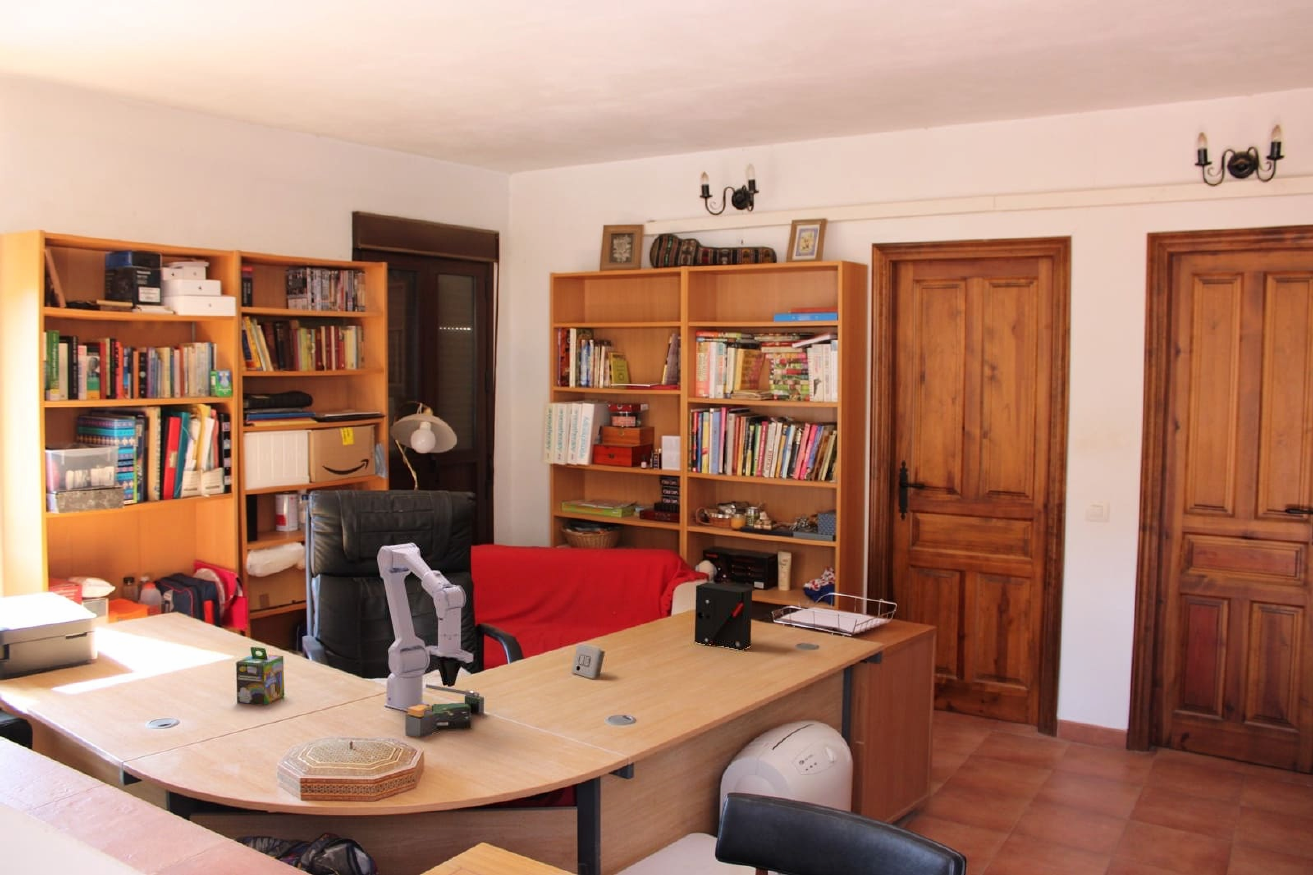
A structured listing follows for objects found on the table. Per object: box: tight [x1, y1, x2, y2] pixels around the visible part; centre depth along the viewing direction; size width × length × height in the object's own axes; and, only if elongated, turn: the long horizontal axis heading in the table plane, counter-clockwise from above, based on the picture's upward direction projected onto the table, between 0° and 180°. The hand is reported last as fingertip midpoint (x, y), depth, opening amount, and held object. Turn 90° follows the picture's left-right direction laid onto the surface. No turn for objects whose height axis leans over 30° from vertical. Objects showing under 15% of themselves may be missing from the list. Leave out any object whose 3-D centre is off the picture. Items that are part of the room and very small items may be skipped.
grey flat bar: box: [425, 683, 480, 698], centre depth 279 cm, size 4×18×1 cm, turn 149°
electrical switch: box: [571, 642, 606, 680], centre depth 324 cm, size 9×5×9 cm, turn 49°
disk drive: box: [431, 702, 473, 731], centre depth 279 cm, size 10×3×15 cm
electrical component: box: [694, 582, 753, 651], centre depth 363 cm, size 18×10×20 cm, turn 58°
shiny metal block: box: [404, 695, 485, 739], centre depth 277 cm, size 5×24×5 cm, turn 149°
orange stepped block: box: [407, 704, 430, 717], centre depth 268 cm, size 4×4×2 cm
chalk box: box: [235, 646, 285, 707], centre depth 293 cm, size 9×9×15 cm
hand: (448, 685), depth 277 cm, fingers closed
